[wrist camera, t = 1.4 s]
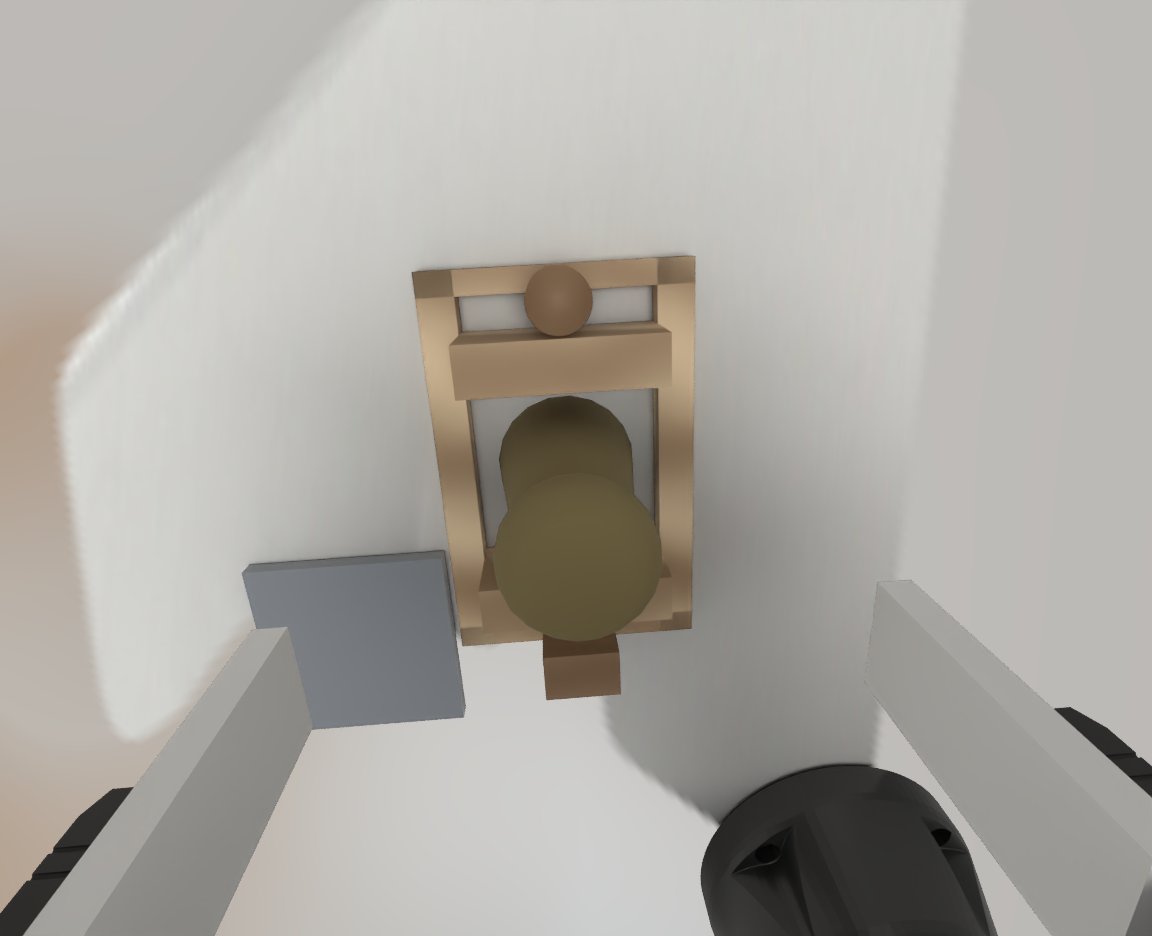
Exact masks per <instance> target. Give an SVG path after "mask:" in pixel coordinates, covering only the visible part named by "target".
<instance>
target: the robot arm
mask: <svg viewBox="0 0 1152 936" xmlns="http://www.w3.org/2000/svg"><path fill="white" fill-rule="evenodd" d="M864 682H865V684H866V685H867V687H868V688H869V689H870V691H871V692H872V693H873V695H874V696H875V697H876V699H877V700H878V701H879V703H880V704H881V705H882V707H883V708H884V710H885V711H886V712H887V714H888V715H889V716H890V718H891V719H892V720H893V722H894V723H895V724H896V726H897V727H898V728H899V730H900V731H901V733H902V734H903V735H904V737H905V738H906V739H907V741H908V742H909V743H910V745H911V746H912V747H913V749H914V750H915V751H916V753H917V754H918V755H919V757H920V758H921V759H922V761H923V762H924V764H925V765H926V766H927V768H928V769H929V770H930V772H931V773H932V774H933V776H934V777H935V778H936V780H937V781H938V783H939V784H940V785H941V787H942V788H943V789H944V791H945V792H946V793H947V795H948V796H949V797H950V799H951V800H952V801H953V803H954V804H955V806H956V807H957V808H958V810H959V811H960V812H961V814H962V815H963V816H964V818H965V819H966V820H967V822H968V823H969V824H970V826H971V827H972V829H973V830H974V831H975V833H976V834H977V835H978V836H979V838H980V839H981V841H982V842H983V843H984V845H985V846H986V848H987V849H988V850H989V852H990V853H991V854H992V856H993V857H994V858H995V859H996V861H997V862H998V864H999V865H1000V866H1001V868H1002V869H1003V870H1004V872H1005V873H1006V874H1007V876H1008V877H1009V878H1010V880H1011V881H1012V883H1013V884H1014V885H1015V887H1016V888H1017V889H1018V891H1019V892H1020V893H1021V895H1022V896H1023V897H1024V899H1025V900H1026V901H1027V903H1028V904H1029V905H1030V907H1031V908H1032V910H1033V911H1034V912H1035V914H1036V915H1037V916H1038V918H1039V919H1040V920H1041V922H1042V923H1043V925H1044V926H1045V927H1046V929H1047V930H1048V931H1049V933H1050V934H1051V935H1052V936H1152V766H1151V765H1150V764H1148V763H1147V762H1146V761H1145V760H1144V759H1143V758H1138V757H1137V756H1136V752H1134V751H1133V750H1132V749H1131V748H1130V747H1128V746H1127V745H1126V744H1125V743H1124V742H1123V741H1122V740H1120V739H1119V738H1118V737H1117V736H1116V735H1115V734H1113V733H1112V732H1111V731H1110V730H1109V729H1108V728H1106V727H1104V726H1103V725H1101V724H1099V723H1097V722H1096V721H1094V720H1092V719H1090V718H1089V717H1087V716H1085V715H1083V714H1082V713H1080V712H1078V711H1076V710H1074V709H1072V708H1071V707H1067V708H1055V709H1053V708H1052V707H1051V706H1050V705H1049V704H1048V703H1046V702H1045V701H1044V700H1043V699H1042V698H1041V697H1040V696H1039V695H1038V694H1037V693H1036V692H1034V691H1033V690H1032V689H1031V688H1030V687H1029V686H1028V685H1027V684H1026V683H1025V682H1023V681H1022V680H1021V679H1020V678H1019V677H1018V676H1017V675H1016V674H1015V673H1013V672H1012V671H1011V670H1010V669H1009V668H1008V667H1007V666H1006V665H1004V663H1002V662H1001V661H1000V660H999V659H998V658H997V657H996V656H995V655H994V654H992V653H991V652H990V651H989V650H988V649H987V648H986V647H985V646H984V645H982V644H981V643H980V642H979V641H978V640H977V639H976V638H975V637H974V636H972V634H970V633H969V632H968V631H967V630H966V629H965V628H964V627H963V626H962V625H960V624H959V623H958V622H957V621H956V620H955V619H954V618H953V617H951V615H949V614H948V613H947V612H946V611H945V610H944V609H942V607H941V606H939V605H938V604H937V603H936V602H935V601H934V600H933V599H932V598H931V597H929V596H928V595H927V594H926V593H925V592H924V591H923V590H922V589H921V588H920V587H919V586H917V585H916V584H915V583H914V582H913V581H912V580H901V581H888V582H878V584H877V592H876V599H875V607H874V614H873V622H872V629H871V636H870V644H869V651H868V659H867V666H866V674H865V681H864ZM312 728H313V726H312V722H311V718H310V714H309V710H308V706H307V702H306V698H305V694H304V690H303V686H302V682H301V678H300V674H299V670H298V666H297V662H296V658H295V654H294V651H293V647H292V643H291V639H290V635H289V631H288V627H280V628H267V629H254V630H251V632H250V633H249V634H248V636H247V637H246V638H245V640H244V641H243V642H242V644H241V645H240V646H239V648H238V649H237V650H236V652H235V653H234V654H233V656H232V657H231V658H230V660H229V661H228V662H227V664H226V665H225V666H224V668H223V669H222V670H221V672H220V673H219V674H218V676H217V677H216V678H215V680H214V681H213V682H212V684H211V685H210V686H209V688H208V689H207V690H206V692H205V693H204V694H203V696H202V697H201V698H200V700H199V701H198V702H197V704H196V705H195V706H194V708H193V709H192V710H191V712H190V713H189V714H188V716H187V717H186V718H185V720H184V721H183V722H182V724H181V725H180V726H179V728H178V729H177V730H176V732H175V733H174V734H173V736H172V737H171V738H170V740H169V741H168V742H167V744H166V745H165V747H164V748H163V749H162V751H161V752H160V753H159V755H158V756H157V757H156V758H155V760H154V761H153V763H152V764H151V765H150V766H149V768H148V769H147V771H146V772H145V773H144V775H143V776H142V777H141V778H140V780H139V781H138V782H137V784H136V785H135V786H134V787H130V788H120V789H119V788H118V789H112V790H111V791H109V792H108V793H107V794H106V795H104V796H103V797H102V798H101V799H100V800H98V801H97V802H96V803H95V804H93V805H92V806H91V807H90V808H88V809H87V810H86V811H85V812H84V813H82V814H81V815H80V816H79V817H78V818H77V819H76V820H75V822H74V823H73V824H72V825H71V827H70V828H69V829H68V830H67V832H66V833H65V834H64V835H63V837H62V838H61V839H60V840H59V841H58V843H57V844H56V845H55V846H54V848H53V849H54V850H53V853H52V854H48V855H47V856H46V858H45V859H44V860H43V861H42V862H41V864H40V865H39V866H38V867H37V869H36V870H35V871H34V872H33V874H32V879H31V880H30V881H26V882H25V884H24V885H23V886H22V887H21V889H20V890H19V891H18V893H16V895H15V896H14V897H13V898H12V900H11V901H10V902H9V903H8V905H7V906H6V907H5V908H4V910H3V911H2V912H1V913H0V936H215V934H216V931H217V929H218V927H219V925H220V923H221V921H222V919H223V917H224V914H225V912H226V910H227V908H228V906H229V904H230V902H231V900H232V897H233V895H234V893H235V891H236V889H237V887H238V885H239V883H240V881H241V878H242V876H243V874H244V872H245V870H246V868H247V866H248V863H249V861H250V859H251V857H252V855H253V853H254V851H255V849H256V847H257V844H258V842H259V840H260V838H261V836H262V834H263V832H264V830H265V827H266V825H267V823H268V821H269V819H270V817H271V815H272V813H273V811H274V808H275V806H276V804H277V802H278V800H279V798H280V796H281V794H282V791H283V789H284V787H285V785H286V783H287V781H288V779H289V777H290V774H291V772H292V770H293V768H294V766H295V764H296V762H297V759H298V757H299V755H300V753H301V751H302V749H303V747H304V745H305V742H306V740H307V738H308V736H309V734H310V732H311V730H312ZM701 887H702V892H703V896H704V900H705V904H706V908H707V912H708V916H709V920H710V924H711V927H712V930H713V933H714V935H715V936H998V935H997V932H996V929H995V926H994V923H993V920H992V917H991V915H990V911H989V908H988V905H987V902H986V899H985V896H984V894H983V891H982V888H981V885H980V882H979V879H978V876H977V873H976V870H975V867H974V864H973V861H972V858H971V855H970V853H969V850H968V848H967V846H966V844H965V842H964V840H963V838H962V836H961V834H960V833H959V831H958V830H957V829H956V827H955V826H954V824H953V823H952V822H951V820H950V819H949V817H948V816H947V815H946V813H945V812H944V810H943V809H942V808H941V806H940V805H939V803H938V802H937V801H936V800H935V799H934V797H933V796H932V795H931V794H930V793H929V792H928V791H926V790H925V789H924V788H923V787H922V786H920V785H919V784H917V783H916V782H914V781H912V780H910V779H909V778H906V777H904V776H902V775H899V774H897V773H894V772H890V771H887V770H883V769H878V768H872V767H863V766H838V767H828V768H822V769H816V770H812V771H808V772H804V773H801V774H797V775H794V776H791V777H789V778H786V779H784V780H781V781H779V782H777V783H775V784H772V785H770V786H768V787H767V788H765V789H763V790H761V791H760V792H758V793H756V794H755V795H753V796H752V797H750V798H749V799H748V800H746V801H745V802H744V803H742V804H741V805H740V806H739V807H738V808H736V809H735V810H734V811H733V812H732V813H731V814H730V815H729V816H728V817H727V818H726V819H725V820H724V822H723V823H722V824H721V825H720V827H719V828H718V829H717V831H716V832H715V834H714V836H713V837H712V839H711V841H710V843H709V845H708V847H707V849H706V852H705V855H704V858H703V862H702V868H701Z"/></svg>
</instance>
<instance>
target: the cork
mask: <svg viewBox="0 0 1152 936" xmlns="http://www.w3.org/2000/svg"><path fill="white" fill-rule="evenodd" d="M499 462H500V469H501V475H502V481H503V486H504V491H505V496H506V501H507V506H508V512H507V514H506V515H505V517H504V519H503V520H502V522H501V524H500V525H499V528H498V534H497V539H496V544H495V549H494V554H493V564H494V570H495V576H496V582H497V585H498V588H499V590H500V592H501V594H502V596H503V598H504V599H505V601H506V603H507V605H508V606H509V608H510V610H511V611H512V612H513V613H514V614H515V615H516V616H517V617H518V618H520V619H521V620H522V621H523V622H524V623H525V624H526V625H527V626H528V627H530V628H533V629H535V630H537V631H539V632H541V633H543V634H546V635H548V636H550V637H552V638H555V639H561V640H568V641H575V642H578V641H586V640H595V639H600V638H602V637H605V636H607V635H610V634H612V633H615V632H617V631H620V630H621V629H622V628H623V627H625V626H626V625H627V624H629V623H630V622H631V621H632V620H634V619H635V618H636V617H637V616H639V615H640V614H641V613H642V612H643V610H644V609H645V607H646V606H647V604H648V603H649V602H650V600H651V599H652V597H653V596H654V594H655V592H656V588H657V585H658V581H659V578H660V575H661V570H662V549H661V538H660V536H659V534H658V532H657V529H656V527H655V525H654V522H653V520H652V518H651V516H650V513H649V511H648V509H647V508H646V507H645V506H644V505H643V504H642V503H641V502H640V501H639V500H638V499H637V498H636V497H635V495H634V487H633V463H632V449H631V443H630V440H629V438H628V436H627V433H626V431H625V429H624V426H623V425H622V424H621V423H620V422H619V421H618V419H617V418H616V417H615V416H614V415H613V414H612V413H611V412H610V411H609V410H608V409H606V408H604V407H602V406H601V405H599V404H597V403H595V402H594V401H592V400H588V399H583V398H578V397H573V396H564V397H555V398H548V399H545V400H543V401H541V402H539V403H536V404H534V405H532V406H530V407H528V408H527V409H526V410H525V411H524V412H523V413H521V414H520V415H519V416H518V417H517V418H516V419H515V420H514V421H513V422H512V424H511V425H510V427H509V429H508V431H507V433H506V434H505V436H504V438H503V440H502V446H501V451H500V457H499Z"/></svg>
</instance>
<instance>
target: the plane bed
mask: <svg viewBox="0 0 1152 936" xmlns="http://www.w3.org/2000/svg"><path fill="white" fill-rule="evenodd" d="M412 278H413V285H414V293H415V300H416V308H417V315H418V322H419V330H420V337H421V344H422V352H423V359H424V366H425V374H426V381H427V388H428V396H429V403H430V411H431V418H432V425H433V433H434V440H435V447H436V455H437V462H438V469H439V477H440V484H441V491H442V499H443V506H444V514H445V521H446V528H447V536H448V543H449V550H450V558H451V565H452V572H453V580H454V587H455V594H456V602H457V609H458V617H459V624H460V631H461V639H462V646H473V645H485V644H498V643H510V642H524V641H537V640H543V665H544V676H545V688H546V699H547V700H554V699H567V698H579V697H591V696H604V695H616V694H621V686H620V658H619V648H618V643H617V638H616V634H628V633H641V632H654V631H667V630H680V629H691V628H692V534H693V440H694V347H695V256H677V257H659V258H642V259H625V260H607V261H590V262H572V263H555V264H537V265H520V266H502V267H485V268H468V269H450V270H433V271H417V272H412ZM647 285H652V298H653V321H638V322H621V323H605V324H588V325H584V324H585V322H586V321H587V319H588V318H589V316H590V313H591V310H592V304H593V298H592V292H591V289H596V288H613V287H630V286H647ZM511 293H525V296H524V305H525V310H526V313H527V316H528V318H529V319H530V321H531V322H532V324H533V325H534V326H535V327H536V328H522V329H506V330H489V331H473V332H462V326H461V317H460V309H459V300H458V297H460V296H477V295H494V294H511ZM647 388H654V470H655V527H656V529H657V532H658V534H659V536H660V538H661V549H662V570H661V575H660V578H659V581H658V585H657V588H656V592H655V594H654V596H653V597H652V599H651V600H650V602H649V603H648V604H647V606H646V607H645V609H644V610H643V612H642V613H641V614H640V615H639V616H637V617H636V618H635V619H634V620H632V621H631V622H630V623H629V624H627V625H626V626H625V627H623V628H622V629H621V630H620V631H617V632H615V633H612V634H610V635H607V636H605V637H602V638H600V639H595V640H586V641H578V642H575V641H568V640H561V639H555V638H552V637H550V636H548V635H546V634H543V633H541V632H539V631H537V630H535V629H533V628H530V627H528V626H527V625H526V624H525V623H524V622H523V621H522V620H521V619H520V618H518V617H517V616H516V615H515V614H514V613H513V612H512V611H511V610H510V608H509V606H508V605H507V603H506V601H505V599H504V598H503V596H502V594H501V592H500V590H499V588H498V585H497V582H496V576H495V570H494V564H493V554H494V549H495V547H489V548H487V547H486V538H485V529H484V520H483V512H482V503H481V494H480V485H479V476H478V467H477V459H476V450H475V441H474V432H473V423H472V414H471V406H470V400H475V399H491V398H507V397H522V396H538V395H553V394H569V393H584V392H600V391H616V390H631V389H647Z"/></svg>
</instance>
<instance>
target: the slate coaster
mask: <svg viewBox="0 0 1152 936" xmlns="http://www.w3.org/2000/svg"><path fill="white" fill-rule="evenodd" d="M242 576H243V580H244V584H245V587H246V591H247V595H248V599H249V602H250V606H251V610H252V614H253V617H254V621H255V625H256V629H267V628H280V627H288V631H289V635H290V639H291V643H292V647H293V651H294V654H295V658H296V662H297V666H298V670H299V674H300V678H301V682H302V686H303V690H304V694H305V698H306V702H307V706H308V710H309V714H310V718H311V722H312V726H313V728H312V730H314V729H326V728H339V727H351V726H363V725H375V724H388V723H400V722H412V721H425V720H438V719H449V718H462V717H464V712H465V706H466V705H465V699H464V692H463V684H462V677H461V670H460V662H459V655H458V648H457V641H456V634H455V626H454V619H453V612H452V605H451V598H450V591H449V583H448V576H447V569H446V562H445V555H444V551H434V552H420V553H406V554H392V555H378V556H364V557H350V558H337V559H323V560H309V561H295V562H281V563H267V564H253V565H249V566H248V567H247V568H246V569H245V570H244V571H243V572H242Z"/></svg>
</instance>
